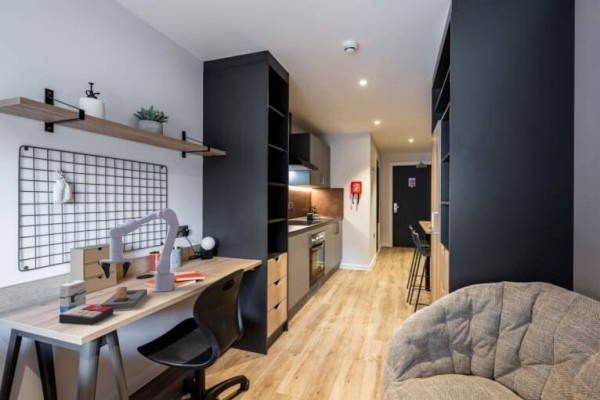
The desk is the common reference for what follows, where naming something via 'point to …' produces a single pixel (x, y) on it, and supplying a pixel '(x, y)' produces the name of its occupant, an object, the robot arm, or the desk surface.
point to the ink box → (72, 295)
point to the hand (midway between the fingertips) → (116, 277)
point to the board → (132, 300)
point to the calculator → (85, 314)
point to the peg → (121, 294)
